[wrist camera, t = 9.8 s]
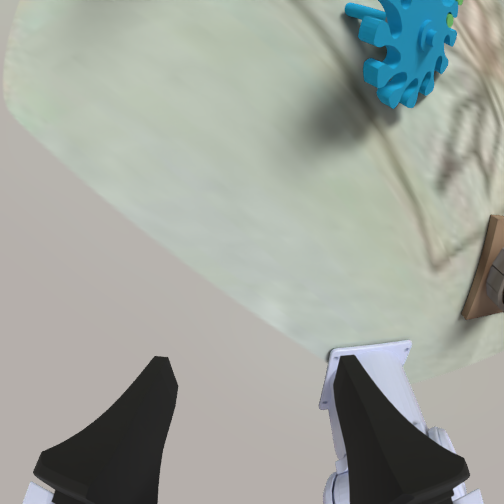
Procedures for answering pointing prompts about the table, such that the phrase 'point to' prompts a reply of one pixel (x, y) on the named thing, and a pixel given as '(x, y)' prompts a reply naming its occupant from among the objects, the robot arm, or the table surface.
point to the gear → (406, 45)
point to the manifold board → (488, 275)
